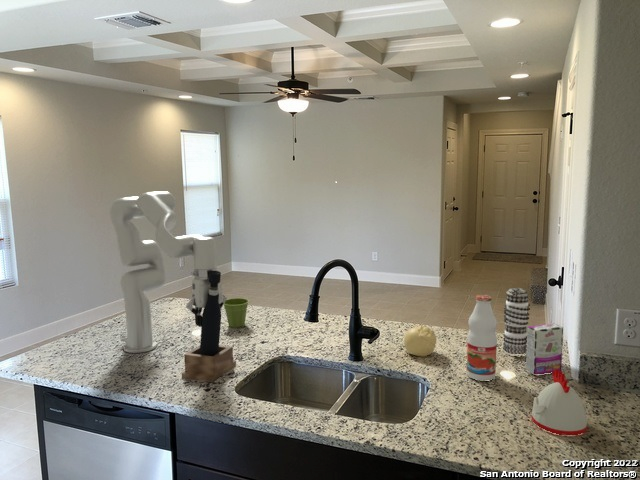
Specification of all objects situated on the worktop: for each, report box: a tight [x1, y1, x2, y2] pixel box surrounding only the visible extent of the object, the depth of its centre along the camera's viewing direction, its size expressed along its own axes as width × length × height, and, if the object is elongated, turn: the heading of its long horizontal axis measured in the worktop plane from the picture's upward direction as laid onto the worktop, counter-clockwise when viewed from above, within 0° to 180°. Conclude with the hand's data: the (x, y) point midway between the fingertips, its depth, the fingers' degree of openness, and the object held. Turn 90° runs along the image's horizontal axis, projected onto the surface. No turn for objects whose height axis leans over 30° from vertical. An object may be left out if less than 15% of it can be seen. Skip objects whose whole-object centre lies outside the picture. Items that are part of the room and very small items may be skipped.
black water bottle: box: [199, 270, 222, 356], centre depth 175 cm, size 6×6×30 cm
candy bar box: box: [525, 323, 564, 374], centre depth 175 cm, size 11×5×16 cm, turn 105°
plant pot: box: [223, 297, 250, 328], centre depth 231 cm, size 12×12×11 cm
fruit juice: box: [466, 294, 498, 380], centre depth 171 cm, size 9×9×28 cm
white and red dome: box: [531, 369, 588, 435], centre depth 140 cm, size 14×14×15 cm
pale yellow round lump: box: [403, 324, 437, 357], centre depth 194 cm, size 11×12×11 cm
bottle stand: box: [181, 344, 237, 383], centre depth 180 cm, size 12×16×8 cm
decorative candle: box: [502, 287, 531, 354], centre depth 193 cm, size 9×9×25 cm
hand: (207, 323), depth 178 cm, fingers closed on black water bottle, 6 cm apart
